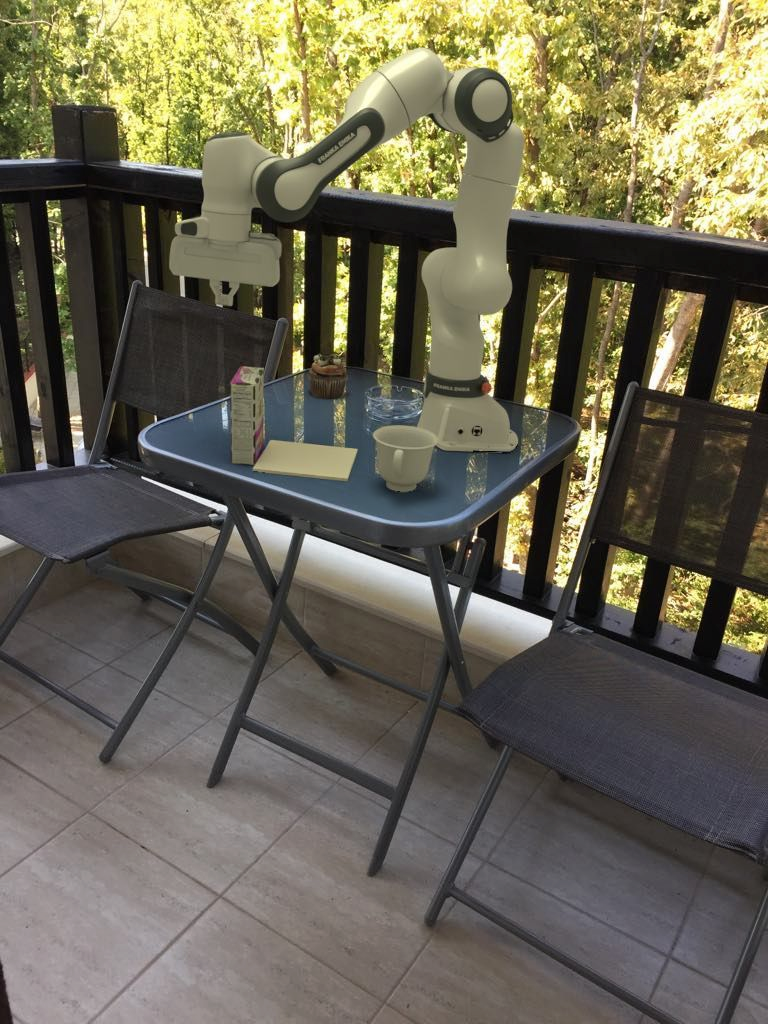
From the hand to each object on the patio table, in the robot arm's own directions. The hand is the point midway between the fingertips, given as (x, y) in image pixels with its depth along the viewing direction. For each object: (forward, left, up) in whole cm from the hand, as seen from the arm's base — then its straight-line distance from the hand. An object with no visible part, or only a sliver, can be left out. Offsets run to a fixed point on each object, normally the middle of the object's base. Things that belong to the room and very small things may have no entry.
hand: (224, 304), depth 162 cm
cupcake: (-15, -41, -28) cm, 52 cm away
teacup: (-37, +13, -28) cm, 48 cm away
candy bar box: (-6, +4, -28) cm, 29 cm away
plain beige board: (-18, +4, -28) cm, 33 cm away
